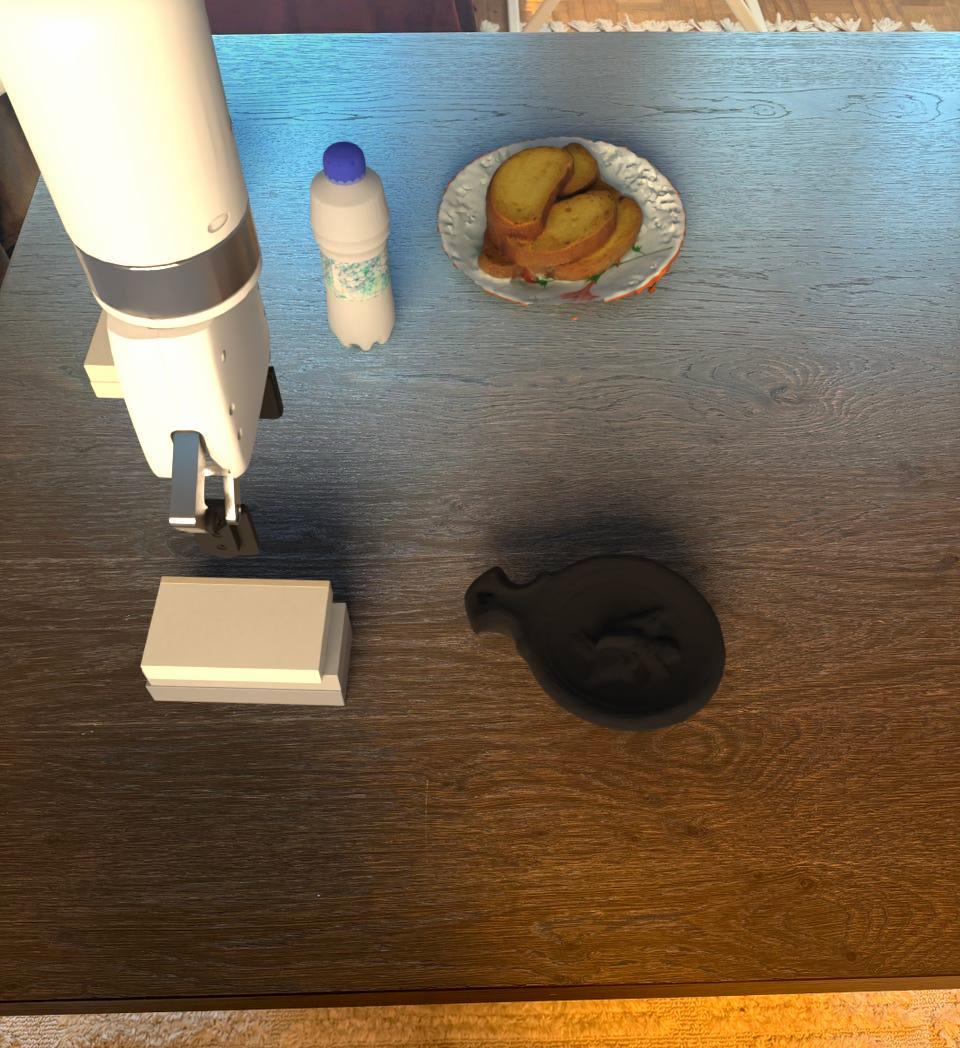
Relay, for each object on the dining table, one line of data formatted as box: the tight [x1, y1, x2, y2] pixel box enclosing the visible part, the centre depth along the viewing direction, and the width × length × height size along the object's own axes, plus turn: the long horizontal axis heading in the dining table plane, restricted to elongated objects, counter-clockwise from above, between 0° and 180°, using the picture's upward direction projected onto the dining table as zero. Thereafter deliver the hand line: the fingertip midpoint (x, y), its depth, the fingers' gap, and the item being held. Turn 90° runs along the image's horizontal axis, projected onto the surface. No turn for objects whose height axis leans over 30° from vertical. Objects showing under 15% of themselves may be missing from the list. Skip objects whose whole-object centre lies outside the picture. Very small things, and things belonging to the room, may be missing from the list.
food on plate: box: [436, 136, 687, 321], centre depth 97 cm, size 25×25×7 cm
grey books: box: [141, 602, 353, 707], centre depth 70 cm, size 14×6×5 cm, turn 89°
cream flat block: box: [140, 575, 334, 683], centre depth 67 cm, size 12×7×2 cm, turn 89°
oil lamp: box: [463, 553, 727, 732], centre depth 71 cm, size 15×20×5 cm
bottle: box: [309, 140, 397, 352], centre depth 84 cm, size 7×7×20 cm
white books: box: [83, 307, 124, 399], centre depth 89 cm, size 12×7×4 cm, turn 179°
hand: (245, 478), depth 56 cm, fingers open, 9 cm apart
